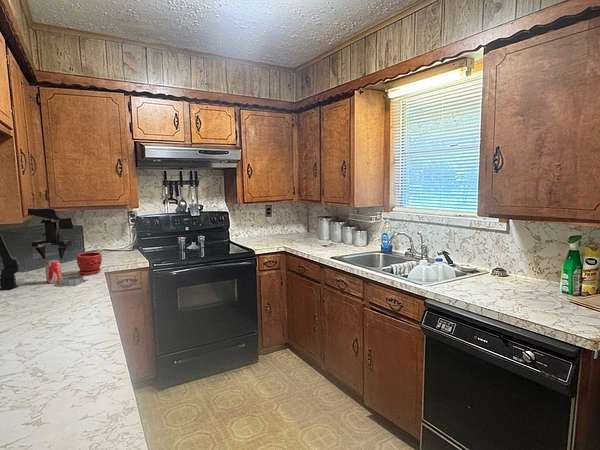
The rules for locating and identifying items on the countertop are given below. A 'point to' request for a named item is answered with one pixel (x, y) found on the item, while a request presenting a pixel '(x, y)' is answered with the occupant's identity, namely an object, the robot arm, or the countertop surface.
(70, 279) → the duct collar
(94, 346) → the countertop surface
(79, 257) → the plant pot
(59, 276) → the soda can
